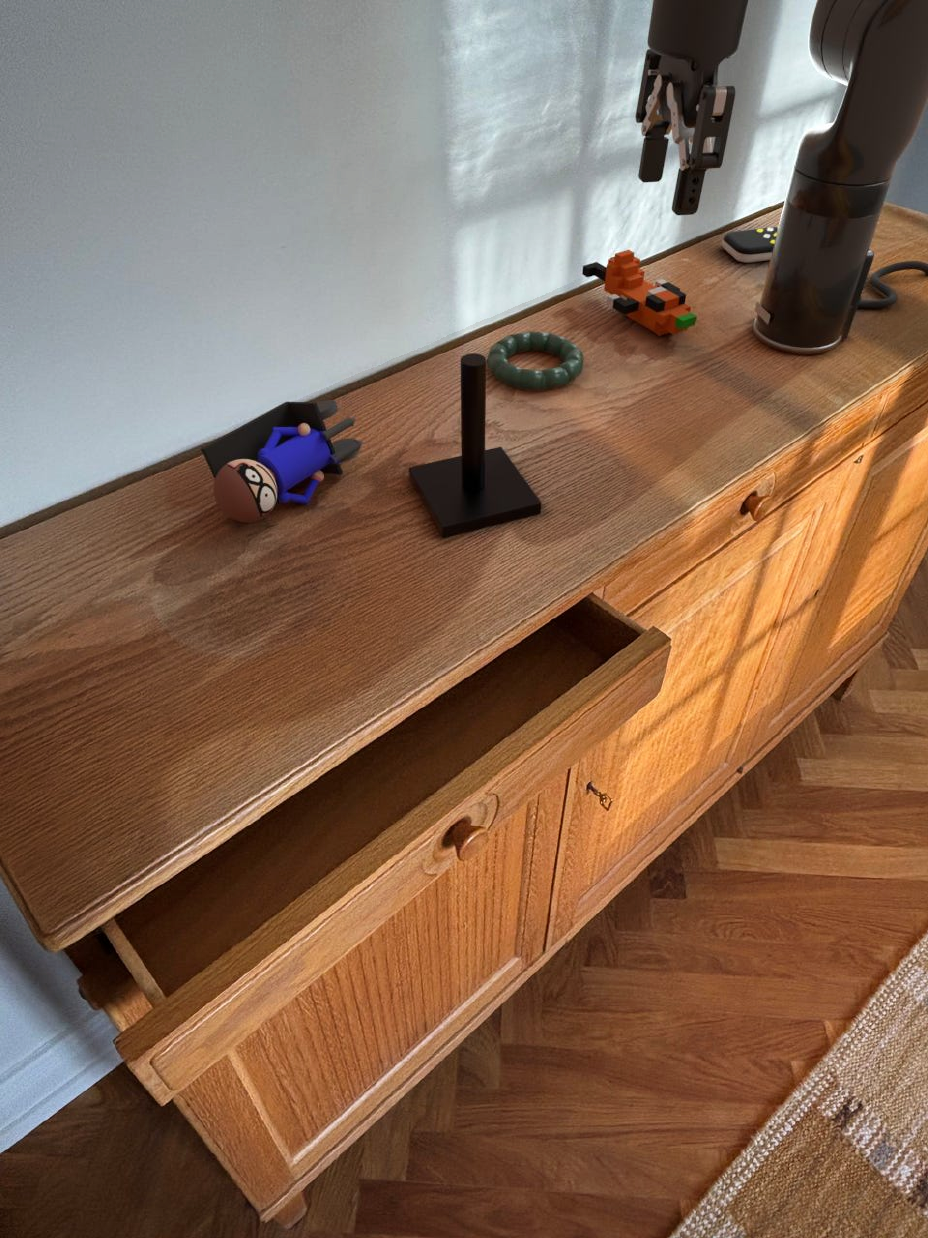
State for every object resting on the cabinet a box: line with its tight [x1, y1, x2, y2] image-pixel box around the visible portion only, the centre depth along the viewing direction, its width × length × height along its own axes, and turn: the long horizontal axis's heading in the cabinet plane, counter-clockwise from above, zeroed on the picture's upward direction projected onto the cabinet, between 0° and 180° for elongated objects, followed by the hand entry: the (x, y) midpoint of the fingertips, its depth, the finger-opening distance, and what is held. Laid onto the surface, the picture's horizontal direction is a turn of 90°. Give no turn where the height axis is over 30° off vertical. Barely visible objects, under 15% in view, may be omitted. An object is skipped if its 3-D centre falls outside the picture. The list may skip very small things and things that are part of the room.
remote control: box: [721, 225, 779, 264], centre depth 112 cm, size 6×13×2 cm, turn 104°
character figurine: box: [200, 399, 364, 523], centre depth 74 cm, size 8×7×15 cm
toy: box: [581, 249, 697, 337], centre depth 98 cm, size 8×6×15 cm
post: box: [408, 352, 542, 539], centre depth 72 cm, size 9×9×13 cm
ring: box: [486, 331, 585, 392], centre depth 91 cm, size 10×10×2 cm
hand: (665, 196), depth 80 cm, fingers open, 8 cm apart
